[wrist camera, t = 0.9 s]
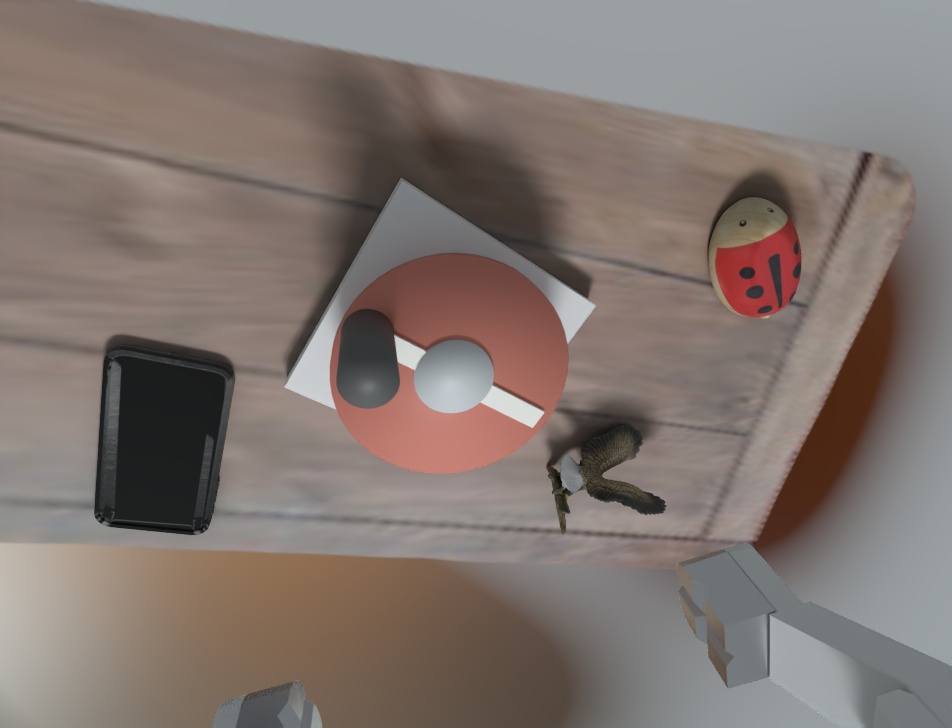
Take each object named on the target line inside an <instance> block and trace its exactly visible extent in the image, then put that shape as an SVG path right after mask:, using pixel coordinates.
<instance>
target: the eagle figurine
mask: <svg viewBox="0 0 952 728" xmlns="http://www.w3.org/2000/svg"><path fill="white" fill-rule="evenodd" d="M634 430H635V428H634V427H631V426H630V425H620V426H617V427H616V428H615V429H613V430H610V431H609V433H608V434H607V433H606V434H604V435H601V436H600V437H595V438H592V439H591V440H589V441H588V443H586V444H585V445H584V448H583V449H582V451H583V454H582V460H581V461H580V464H579V465H578V464H577V463H576V462H575V461H574V460H573V459H572V458H571V457H570V456H569V455H568V454H566V455H565V456H564V457H563V459H562V461H561V462H560V472H559V473H558V471H557V470H556V469H554V468H553V467H549V466H548V465H547V470H548V472H549V474H548V477H549V478H550V479H551V481H552V486H553V491H552V494H554V495H555V502H556V508H557V513H558V517H559V522H560V527H561V531H562V534H563V535H564V534H565V533H566V520H565V513H567V514H570V510H569V506H568V504H567V497H568V496H570V495H572V494H573V493H576V492H577V491H581V490H587V492H588V494H590V496H591V497H594V498H595V499H597V500H600V501H604V502H606V503H608V502H610V501H612V502H613V501H616V502H618V503H622V504H623V505H624V506H628V507H631V508H632V509H636V510H637V511H638V512H639V513H641V514H645V515H648V514H650V515H651V514H659V513H663V511H665V507H666V505H664V504H665V501H664V500H662V499H660V498H659V497H658V496H653V494H652V493H648V492H644V491H642V490H640V489H639V488H638V487H636V486H634V485H632V484H629V483H626V482H621V481H614V480H607V479H604V478H603V477H602V474H603V473H604V472H605V471H607V470H609V469H610V468H612V467H614V466H616V465H619V464H621V463H622V462H624V461H627V460H631V459H634V458H635V457H636V454H637V453H638V452H639V447H640V446H641V445H642V444H643V443H642V442H641V440H642V439H643V438H642V436H639V435H640V432H639V431H634ZM561 480H562V481H563V483H564V485H565V486H566V488H565V489H564V487H562V481H561ZM563 489H564V490H563Z"/></svg>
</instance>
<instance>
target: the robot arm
mask: <svg viewBox="0 0 952 728" xmlns="http://www.w3.org/2000/svg"><path fill="white" fill-rule="evenodd" d="M676 569H677V577H678V578H679V580H680V582H681V583H682V585H683V586H682V587H681V588H680V590H679V597H680V603H681V606H682V609H683V612H684V615H685V618H686V619H687V622H688V624H689V626H690V627H691V629H692V631H693V633H694V634H695V636H696V638H698V639H700V640H701V641H703V642H705V643H707V645H708V656H709V659H710V660H711V662H712V664H713V665H714V667H715V669H716V670H717V672H718V673H719V675H720V677H721V678H722V680H723V681H724V683H725V685H726V686H727V688H731V687H735V686H738V685H742V684H745V683H749V682H753V681H756V680H759V679H763V678H767V677H770V680H771V681H773V682H774V683H776V684H777V685H779V686H780V687H782V688H783V689H785V690H786V691H788V692H789V693H790V694H792V695H793V696H795V697H796V698H798V699H799V700H801V701H802V702H803V703H805V704H806V705H808V706H809V707H811V708H812V709H814V710H815V711H817V712H818V713H820V714H821V715H822V716H824V717H825V718H827V719H828V720H830V721H831V722H833V723H834V724H835V725H837V726H839V727H840V728H952V666H950V665H947V664H945V663H943V662H941V661H939V660H936V659H934V658H932V657H930V656H928V655H926V654H924V653H921V652H919V651H917V650H915V649H913V648H910V647H908V646H906V645H904V644H902V643H899V642H897V641H895V640H893V639H891V638H889V637H886V636H884V635H881V634H880V633H878V632H875V631H873V630H871V629H869V628H866V627H864V626H862V625H860V624H858V623H856V622H854V621H851V620H849V619H847V618H845V617H843V616H840V615H838V614H836V613H833V612H832V611H829V610H827V609H825V608H823V607H821V606H818V605H816V604H814V603H812V602H807V603H804V604H803V603H802V602H801V601H800V600H799V598H797V596H796V595H795V594H794V593H793V592H792V591H791V590H790V588H789V587H788V586H787V585H786V584H785V583H784V582H783V581H782V579H780V577H779V576H778V575H777V574H776V573H775V572H774V570H773V569H772V568H771V567H770V566H769V565H768V564H767V563H766V561H764V559H763V558H762V557H761V556H760V555H759V554H758V553H757V552H756V550H755V549H754V548H753V547H752V546H751V545H749V544H748V543H742V544H739V545H736V546H733V547H729V548H726V549H723V550H718V551H715V552H711V553H708V554H705V555H702V556H699V557H696V558H693V559H690V560H687V561H683V562H680V563H678V564H677V567H676ZM305 691H306V689H305V688H304V686H303V685H302V683H301V682H300V681H299V680H298V681H294V682H290V683H287V684H283V685H279V686H276V687H272V688H268V689H264V690H261V691H257V692H254V693H250V694H247V695H243V696H240V697H237V698H233V699H229V700H226V701H223V703H222V704H221V706H220V707H219V709H218V710H217V713H216V716H215V720H214V722H213V726H212V728H322V721H321V718H320V715H319V711H318V709H317V708H316V706H315V704H314V703H312V702H309V701H307V700H305Z"/></svg>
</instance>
